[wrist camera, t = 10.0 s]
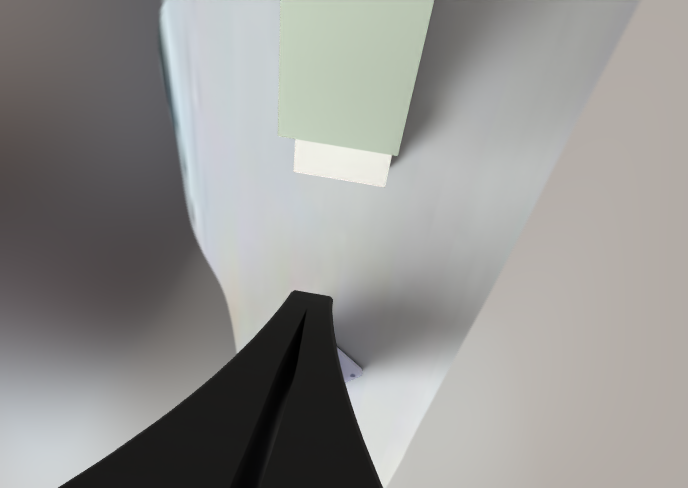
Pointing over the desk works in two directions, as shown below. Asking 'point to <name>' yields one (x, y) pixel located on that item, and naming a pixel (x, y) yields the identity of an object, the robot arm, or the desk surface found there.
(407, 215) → the desk surface
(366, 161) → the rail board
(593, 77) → the desk surface
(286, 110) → the sage module
